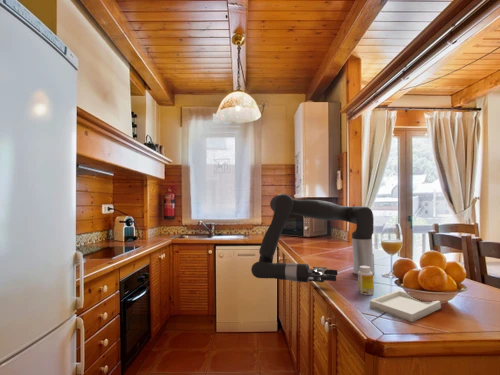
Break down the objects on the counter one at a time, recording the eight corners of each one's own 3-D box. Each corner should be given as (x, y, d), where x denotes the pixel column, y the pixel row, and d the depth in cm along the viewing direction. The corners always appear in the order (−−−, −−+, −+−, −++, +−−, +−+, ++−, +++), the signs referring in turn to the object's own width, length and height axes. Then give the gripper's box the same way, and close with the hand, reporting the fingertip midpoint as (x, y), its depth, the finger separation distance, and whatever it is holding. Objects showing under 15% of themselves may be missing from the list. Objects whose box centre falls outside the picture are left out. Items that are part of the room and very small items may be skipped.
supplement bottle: (377, 294, 103) (375, 267, 104) (367, 296, 101) (365, 269, 101) (365, 289, 108) (364, 264, 109) (355, 292, 106) (354, 266, 106)
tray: (398, 296, 101) (398, 290, 101) (440, 308, 89) (440, 301, 89) (369, 306, 91) (369, 300, 91) (412, 321, 79) (412, 314, 79)
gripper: (293, 267, 108) (335, 270, 102) (300, 260, 121) (337, 262, 116) (294, 286, 108) (336, 290, 102) (300, 276, 121) (338, 279, 115)
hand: (336, 275), depth 109 cm, fingers open, 8 cm apart
